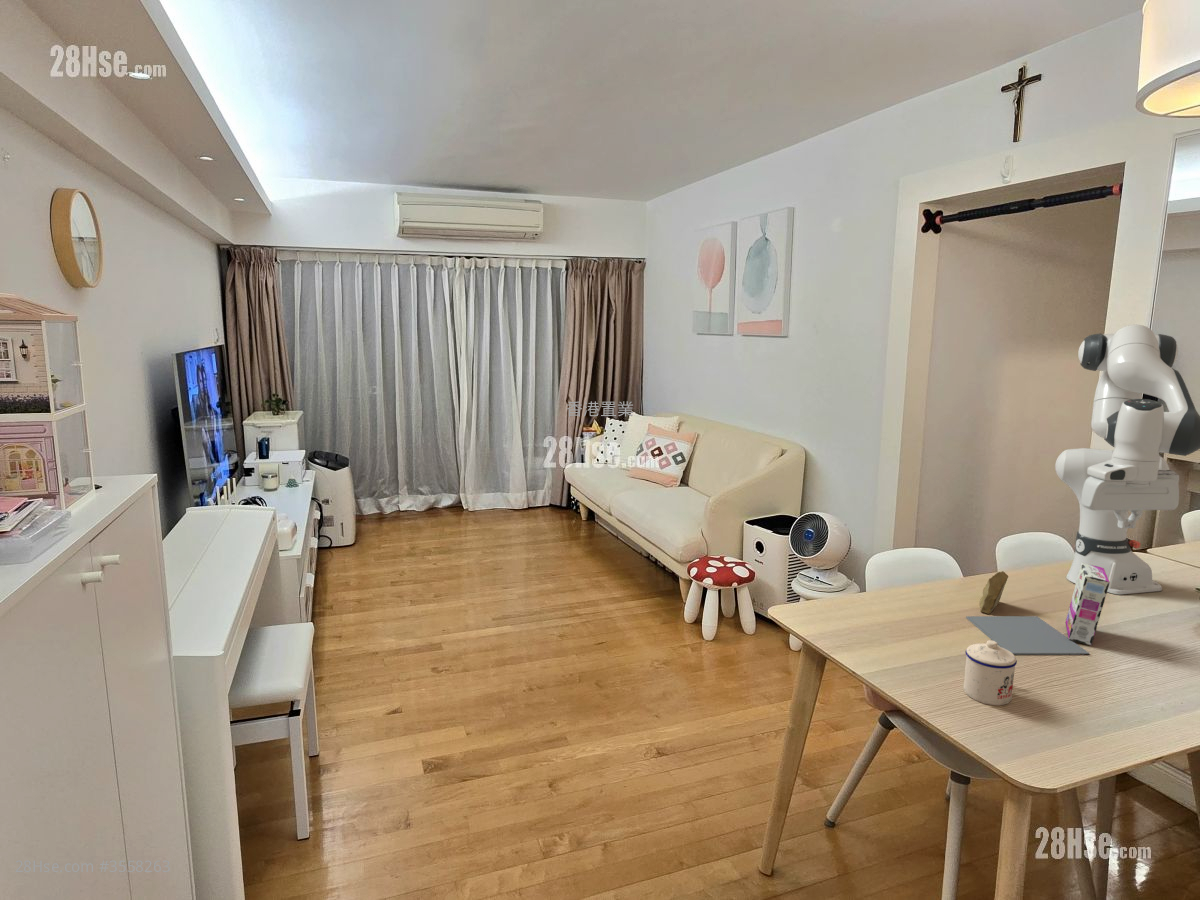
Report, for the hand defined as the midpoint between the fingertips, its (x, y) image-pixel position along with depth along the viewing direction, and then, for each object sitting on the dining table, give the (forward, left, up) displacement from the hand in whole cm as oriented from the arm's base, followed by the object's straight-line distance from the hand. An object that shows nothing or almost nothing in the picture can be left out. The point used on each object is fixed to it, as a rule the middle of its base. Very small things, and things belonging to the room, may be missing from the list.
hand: (1126, 527), depth 162 cm
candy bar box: (+8, 0, -27) cm, 28 cm away
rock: (+21, -17, -27) cm, 38 cm away
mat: (+21, 0, -27) cm, 34 cm away
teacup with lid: (+43, +26, -27) cm, 57 cm away
